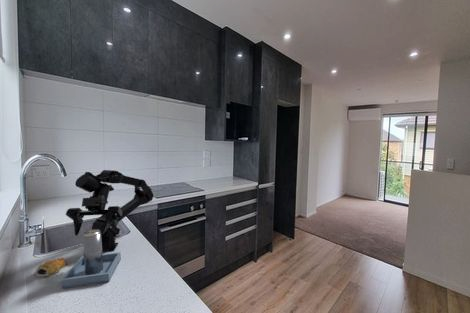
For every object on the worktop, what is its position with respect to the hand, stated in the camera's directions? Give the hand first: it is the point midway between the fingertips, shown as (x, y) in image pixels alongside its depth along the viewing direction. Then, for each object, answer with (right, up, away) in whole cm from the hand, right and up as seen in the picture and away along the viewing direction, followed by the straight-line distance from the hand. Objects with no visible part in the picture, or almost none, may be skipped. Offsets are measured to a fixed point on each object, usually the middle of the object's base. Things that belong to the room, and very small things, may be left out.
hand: (89, 234), depth 81 cm
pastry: (-14, -13, -1) cm, 19 cm away
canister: (+4, -12, -3) cm, 13 cm away
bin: (+4, -13, -3) cm, 14 cm away
